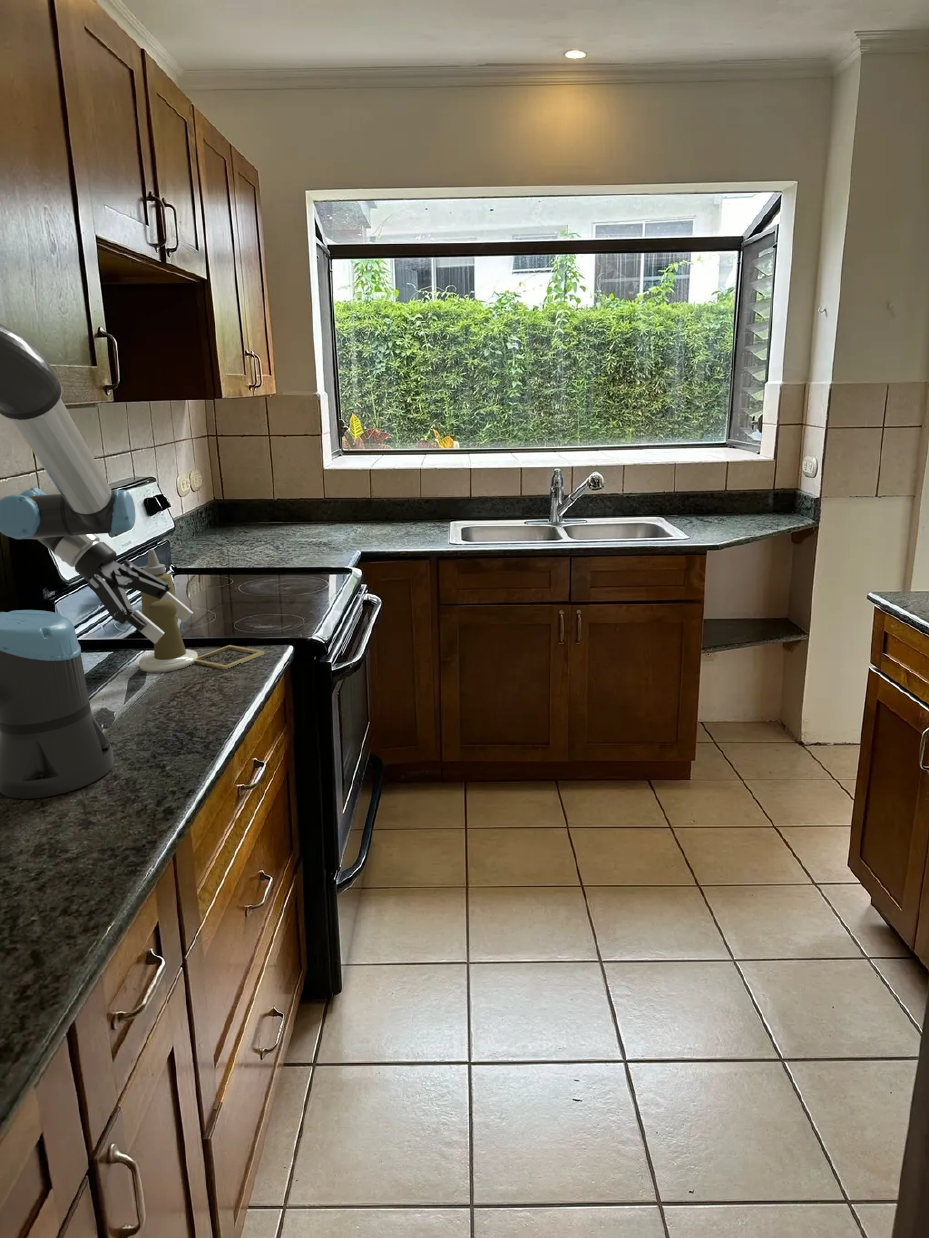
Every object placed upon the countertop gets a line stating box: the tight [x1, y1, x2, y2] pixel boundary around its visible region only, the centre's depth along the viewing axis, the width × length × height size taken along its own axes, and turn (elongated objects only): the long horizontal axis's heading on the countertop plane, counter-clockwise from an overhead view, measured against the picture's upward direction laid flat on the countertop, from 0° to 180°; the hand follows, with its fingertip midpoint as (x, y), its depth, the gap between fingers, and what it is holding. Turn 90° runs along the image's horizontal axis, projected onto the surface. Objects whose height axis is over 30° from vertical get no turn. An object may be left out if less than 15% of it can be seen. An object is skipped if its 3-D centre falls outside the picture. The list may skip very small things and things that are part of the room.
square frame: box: [194, 644, 265, 670], centre depth 165 cm, size 10×10×1 cm
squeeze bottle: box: [140, 549, 179, 624], centre depth 186 cm, size 8×8×18 cm
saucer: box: [138, 648, 199, 674], centre depth 164 cm, size 11×11×1 cm
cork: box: [148, 600, 186, 660], centre depth 164 cm, size 6×6×11 cm
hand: (175, 627), depth 162 cm, fingers open, 13 cm apart
